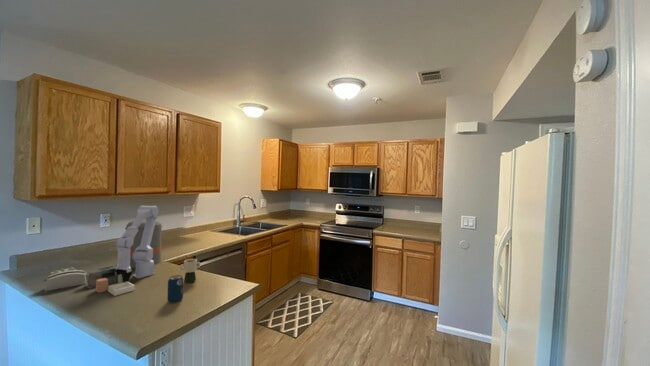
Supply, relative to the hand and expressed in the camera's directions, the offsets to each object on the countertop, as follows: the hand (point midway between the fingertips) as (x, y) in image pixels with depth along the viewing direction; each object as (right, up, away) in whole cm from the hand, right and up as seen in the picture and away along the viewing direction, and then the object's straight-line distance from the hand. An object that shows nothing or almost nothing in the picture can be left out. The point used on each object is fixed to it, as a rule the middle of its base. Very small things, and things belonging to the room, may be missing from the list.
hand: (123, 282), depth 153 cm
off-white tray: (+5, -2, -8) cm, 10 cm away
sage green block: (0, -2, 0) cm, 2 cm away
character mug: (+35, -3, +7) cm, 35 cm away
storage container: (-16, -1, +40) cm, 44 cm away
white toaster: (-42, -1, +10) cm, 43 cm away
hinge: (-29, -1, -4) cm, 29 cm away
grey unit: (-12, -1, +3) cm, 13 cm away
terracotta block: (-6, -2, -8) cm, 10 cm away
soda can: (+40, -3, -18) cm, 44 cm away
